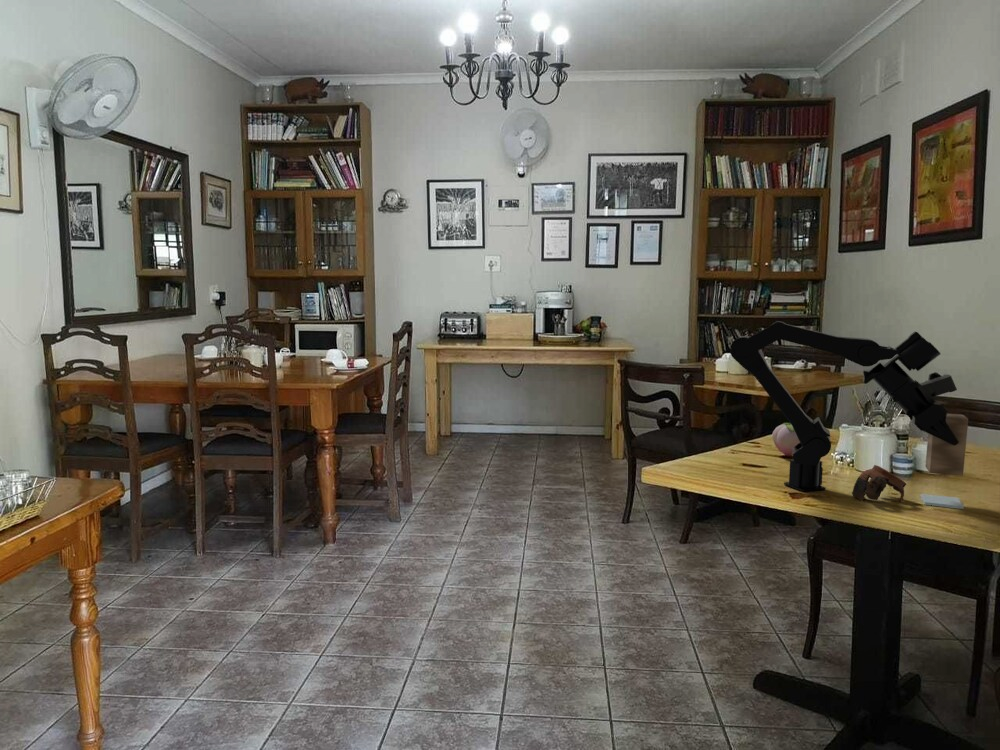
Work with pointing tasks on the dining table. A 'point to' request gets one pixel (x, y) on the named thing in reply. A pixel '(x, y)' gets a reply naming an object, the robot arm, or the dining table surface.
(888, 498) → the dining table surface
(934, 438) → the walnut block
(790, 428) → the decorative fruit
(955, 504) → the slate-blue tile
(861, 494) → the brown curved piece
